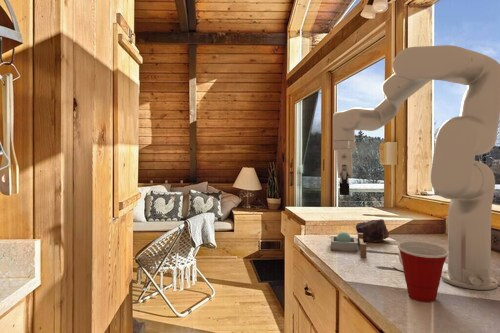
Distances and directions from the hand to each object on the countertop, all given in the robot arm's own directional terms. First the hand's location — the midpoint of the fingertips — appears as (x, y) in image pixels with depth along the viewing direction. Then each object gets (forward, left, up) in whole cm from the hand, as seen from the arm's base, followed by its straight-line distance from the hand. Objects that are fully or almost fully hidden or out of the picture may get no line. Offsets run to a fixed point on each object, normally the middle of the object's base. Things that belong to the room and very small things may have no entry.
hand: (344, 193), depth 128 cm
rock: (+13, -11, -20) cm, 26 cm away
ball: (0, 0, -19) cm, 19 cm away
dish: (0, 0, -20) cm, 20 cm away
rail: (-3, -6, -20) cm, 21 cm away
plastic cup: (-43, -17, -20) cm, 50 cm away
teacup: (-20, -19, -20) cm, 34 cm away
